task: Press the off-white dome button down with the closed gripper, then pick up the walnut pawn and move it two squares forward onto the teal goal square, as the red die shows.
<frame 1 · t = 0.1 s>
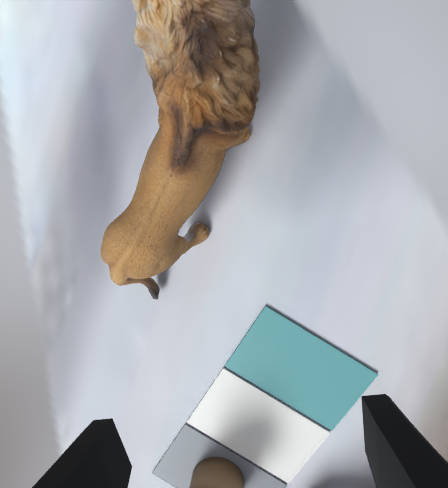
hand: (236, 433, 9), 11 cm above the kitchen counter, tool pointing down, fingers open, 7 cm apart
lion figurine: (189, 171, 19), on the kitchen counter
walnut pawn: (218, 479, 22), resting on game track
game track: (256, 426, 21), on the kitchen counter
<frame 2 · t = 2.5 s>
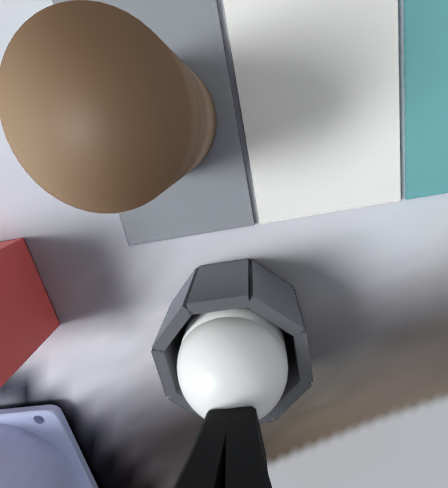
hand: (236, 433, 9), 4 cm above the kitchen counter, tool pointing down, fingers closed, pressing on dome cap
dome cap: (232, 364, 11), point 3 cm above the kitchen counter, slide at 0.9 cm, touching gripper
walnut pawn: (162, 122, 11), resting on game track
dome housing: (235, 318, 13), on the kitchen counter
game track: (316, 88, 10), on the kitchen counter
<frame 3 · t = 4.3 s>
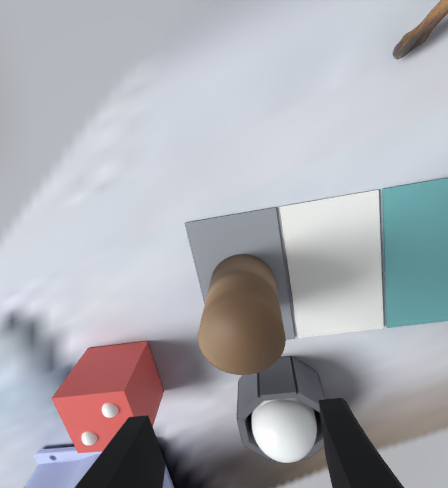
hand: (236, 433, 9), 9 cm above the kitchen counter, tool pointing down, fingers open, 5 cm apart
dome cap: (283, 424, 18), point 3 cm above the kitchen counter, slide at 1.1 cm
walnut pawn: (242, 284, 18), resting on game track
dome housing: (279, 389, 20), on the kitchen counter
red die: (126, 370, 21), on the kitchen counter
game track: (334, 270, 17), on the kitchen counter
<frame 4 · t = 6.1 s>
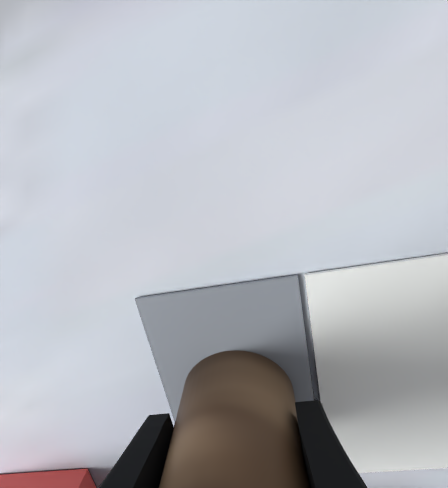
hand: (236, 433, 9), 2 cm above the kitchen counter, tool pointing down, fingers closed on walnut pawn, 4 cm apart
walnut pawn: (238, 395, 11), resting on game track, touching gripper
game track: (397, 377, 10), on the kitchen counter
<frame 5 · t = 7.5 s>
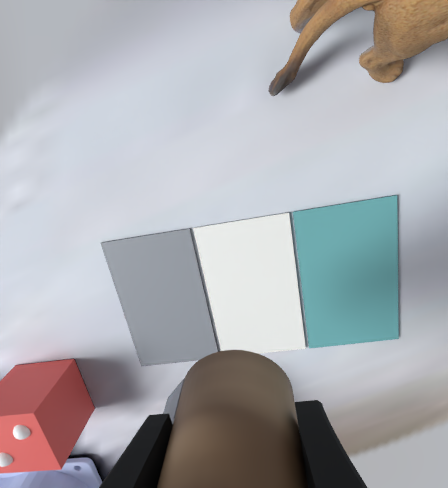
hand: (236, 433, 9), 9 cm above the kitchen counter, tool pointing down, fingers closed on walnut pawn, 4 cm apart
walnut pawn: (237, 395, 11), point 7 cm above the kitchen counter, touching gripper
dome housing: (208, 408, 20), on the kitchen counter
red die: (55, 387, 21), on the kitchen counter
game track: (252, 291, 17), on the kitchen counter
when the fingers open (2 cm above the kitchen counter, at t = 9.3 s): walnut pawn drops 1 cm, resting on game track.
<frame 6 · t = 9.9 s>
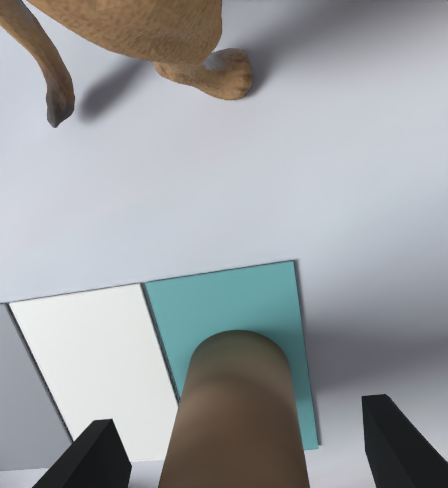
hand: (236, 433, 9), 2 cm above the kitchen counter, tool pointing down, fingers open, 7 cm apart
walnut pawn: (239, 372, 11), resting on game track
game track: (109, 384, 12), on the kitchen counter
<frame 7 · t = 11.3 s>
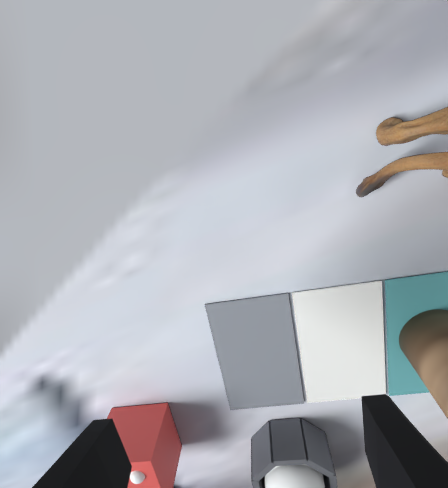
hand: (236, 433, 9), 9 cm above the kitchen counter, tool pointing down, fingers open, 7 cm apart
dome cap: (294, 484, 20), point 3 cm above the kitchen counter, slide at 1.1 cm
walnut pawn: (432, 336, 18), resting on game track
dome housing: (289, 446, 22), on the kitchen counter
red die: (147, 427, 22), on the kitchen counter
game track: (341, 346, 19), on the kitchen counter
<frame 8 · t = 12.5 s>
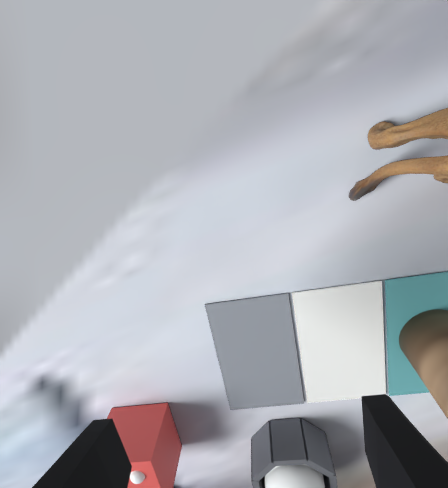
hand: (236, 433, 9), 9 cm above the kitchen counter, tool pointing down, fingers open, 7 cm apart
dome cap: (294, 484, 20), point 3 cm above the kitchen counter, slide at 1.1 cm
walnut pawn: (432, 336, 18), resting on game track
dome housing: (289, 446, 22), on the kitchen counter
red die: (147, 427, 22), on the kitchen counter
game track: (341, 346, 19), on the kitchen counter
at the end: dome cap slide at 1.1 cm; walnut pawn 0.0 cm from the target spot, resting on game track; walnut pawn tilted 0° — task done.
